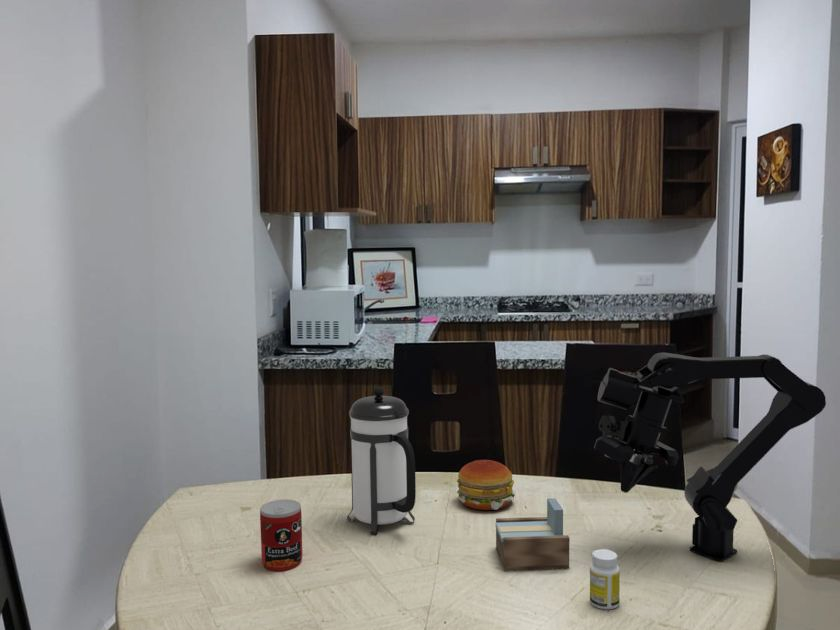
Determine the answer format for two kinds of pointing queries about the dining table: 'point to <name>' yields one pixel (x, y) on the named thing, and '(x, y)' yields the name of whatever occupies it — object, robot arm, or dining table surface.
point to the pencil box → (532, 550)
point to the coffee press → (381, 461)
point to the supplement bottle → (604, 579)
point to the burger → (485, 485)
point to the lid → (535, 524)
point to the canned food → (281, 534)
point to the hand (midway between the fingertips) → (623, 491)
